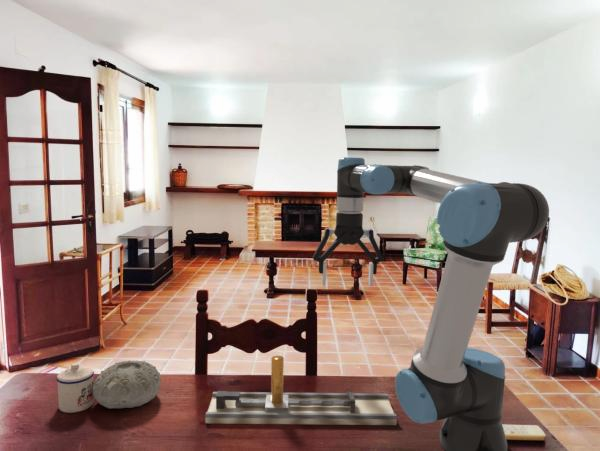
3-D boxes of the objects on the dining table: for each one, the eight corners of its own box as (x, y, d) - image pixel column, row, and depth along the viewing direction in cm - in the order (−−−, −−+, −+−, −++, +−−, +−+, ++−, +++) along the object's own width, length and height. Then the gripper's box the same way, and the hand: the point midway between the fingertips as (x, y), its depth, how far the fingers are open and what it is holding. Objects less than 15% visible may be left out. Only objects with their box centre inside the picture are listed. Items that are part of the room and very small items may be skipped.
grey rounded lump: (150, 418, 122) (149, 382, 121) (81, 417, 122) (79, 380, 120) (168, 386, 140) (168, 354, 138) (108, 385, 139) (107, 353, 138)
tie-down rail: (386, 401, 133) (387, 385, 132) (396, 425, 121) (397, 406, 121) (213, 400, 132) (213, 383, 131) (205, 423, 120) (205, 404, 119)
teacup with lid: (82, 415, 123) (81, 372, 121) (50, 412, 124) (48, 370, 122) (106, 393, 134) (105, 354, 133) (77, 391, 136) (75, 352, 134)
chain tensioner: (353, 399, 130) (354, 353, 128) (356, 412, 123) (358, 364, 122) (237, 398, 129) (237, 352, 128) (234, 411, 122) (234, 363, 121)
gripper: (390, 211, 138) (387, 282, 141) (305, 210, 137) (303, 280, 140) (396, 214, 131) (392, 288, 133) (306, 212, 130) (304, 287, 133)
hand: (347, 284), depth 137 cm, fingers open, 13 cm apart
